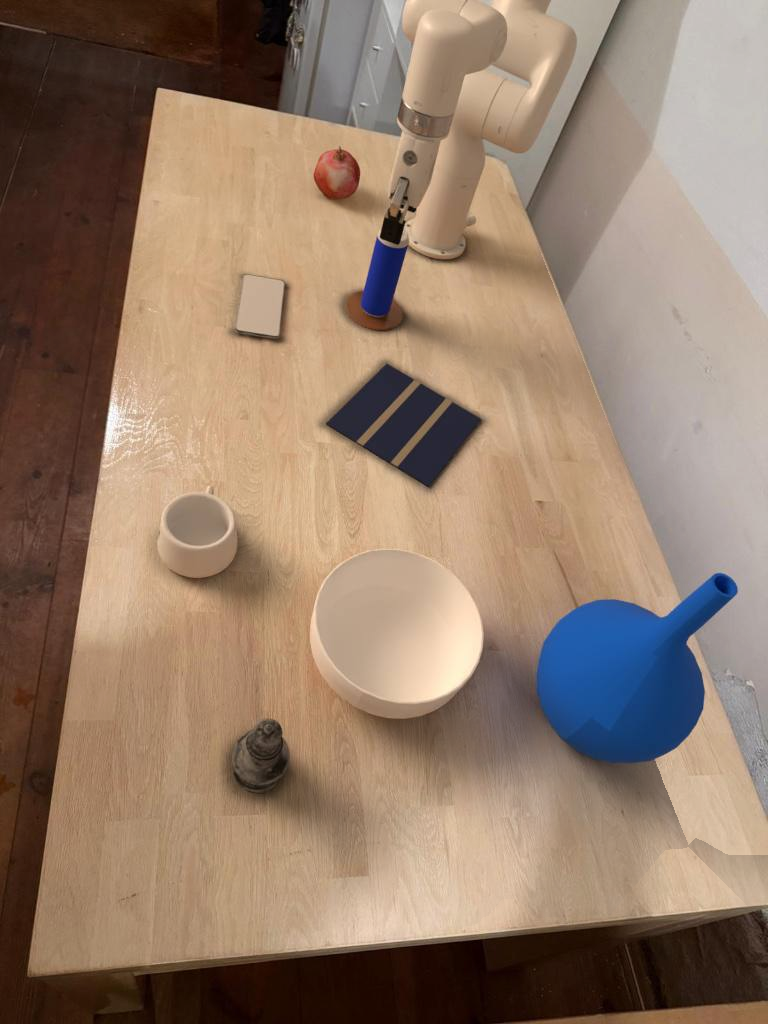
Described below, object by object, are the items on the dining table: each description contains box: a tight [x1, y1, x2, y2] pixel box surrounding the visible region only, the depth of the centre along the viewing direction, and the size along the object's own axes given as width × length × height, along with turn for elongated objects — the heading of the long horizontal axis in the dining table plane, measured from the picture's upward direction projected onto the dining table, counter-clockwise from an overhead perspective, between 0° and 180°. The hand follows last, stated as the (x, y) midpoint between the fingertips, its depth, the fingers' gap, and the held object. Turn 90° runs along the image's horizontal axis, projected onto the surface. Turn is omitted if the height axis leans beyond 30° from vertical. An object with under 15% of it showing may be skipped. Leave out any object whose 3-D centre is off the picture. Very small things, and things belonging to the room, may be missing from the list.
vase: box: [536, 572, 739, 764], centre depth 80 cm, size 18×18×30 cm
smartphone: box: [234, 273, 286, 340], centre depth 122 cm, size 7×1×15 cm
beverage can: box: [361, 226, 409, 317], centre depth 123 cm, size 5×5×15 cm
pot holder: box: [325, 363, 482, 488], centre depth 114 cm, size 18×18×1 cm
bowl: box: [309, 547, 485, 720], centre depth 87 cm, size 20×20×8 cm
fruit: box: [313, 145, 361, 200], centre depth 145 cm, size 9×10×10 cm
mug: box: [156, 485, 239, 579], centre depth 91 cm, size 12×10×6 cm
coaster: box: [345, 290, 403, 331], centre depth 129 cm, size 10×10×1 cm
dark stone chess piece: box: [231, 717, 291, 794], centre depth 74 cm, size 6×6×12 cm
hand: (398, 224), depth 116 cm, fingers open, 9 cm apart
